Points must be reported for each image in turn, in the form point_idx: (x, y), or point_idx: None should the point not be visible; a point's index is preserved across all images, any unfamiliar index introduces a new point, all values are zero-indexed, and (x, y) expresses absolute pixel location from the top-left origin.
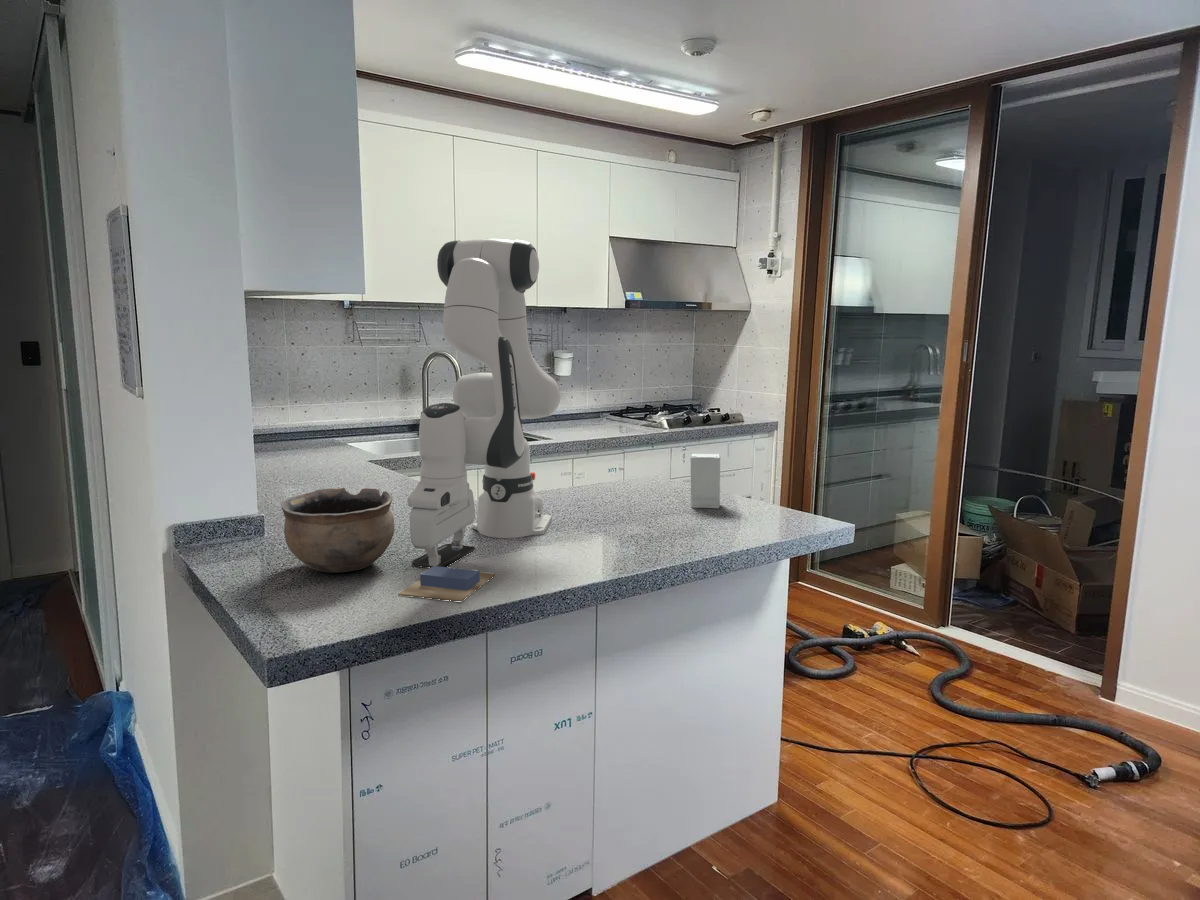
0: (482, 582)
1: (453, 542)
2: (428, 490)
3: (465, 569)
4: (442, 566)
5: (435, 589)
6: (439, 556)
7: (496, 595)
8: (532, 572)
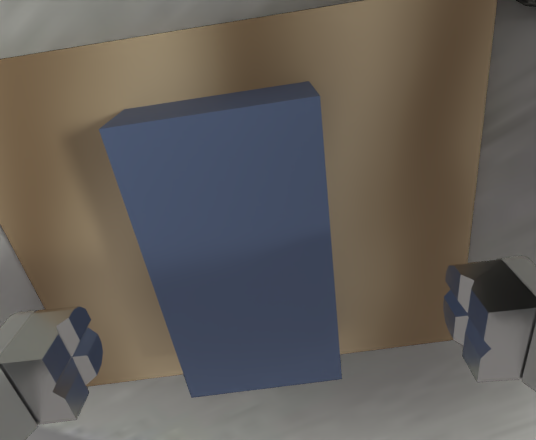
0: None
1: (483, 328)
2: None
3: (332, 317)
4: (527, 1)
5: (122, 229)
6: (58, 416)
7: (232, 428)
8: (528, 415)
